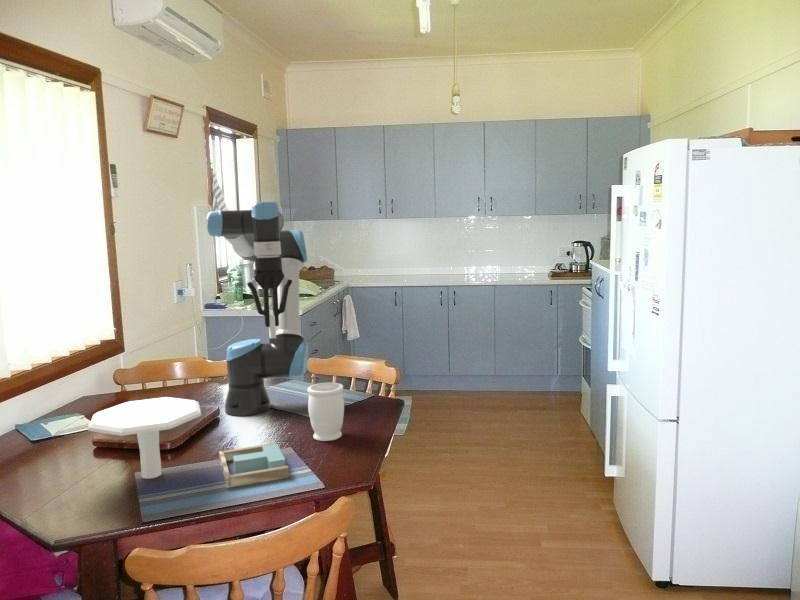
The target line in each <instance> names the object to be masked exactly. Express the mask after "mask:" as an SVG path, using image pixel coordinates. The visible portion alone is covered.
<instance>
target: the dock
mask: <svg viewBox="0 0 800 600" xmlns="http://www.w3.org/2000/svg"><path fill="white" fill-rule="evenodd" d="M273 444H277V442H272V443H265V444H260V445H253V446H246V447H240V448H239V447H238V448H233V449H227V450H220V451H218V452H219V463H220V465H221V470H222V475H223V478H224V482H225V486H226V488H227V489H231V488H234V487H235V488H236V487H240V486H241V487H243V486H246V485H252V484H253V485H254V484H258V483H264V482H269V481H270V482H271V481H276V480H282V479H288V478H290V468H289V466H288V465H286V466H282V467H276V468H270V469H264V470H258V471H252V472H246V473H240V474H235V473H234V474H231V473H230V470H229V467H228V464H227V462H231V461H233V456H237V455H243V454H250V453H256V452H262V446H267V445H273Z"/></svg>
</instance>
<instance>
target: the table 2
mask: <svg viewBox="0 0 800 600" xmlns="http://www.w3.org/2000/svg"><path fill="white" fill-rule="evenodd" d="M201 416H202V410H201V406H200V403H199V401H197V400H195V399H186V398H179V397H170V396H163V397H156V398H155V397H153V398H148V399H147V398H145V399H140V400H138V399H137V400H129V401H125V402H122V403H119V404H116V405H114V406H111V407H108V408H105V409H103V410H99V411H97V412H95V413H94V414H93V415H92V417H91V420H90V423H89V426H88V429H87V431H88V432H94V433H101V434H105V435H106V434H107V435H112V436H113V435H114V436H121V437H122V436H123V437H124V436H128V435H137V443H138V448H139V457H140V471H141V473H140V474H141V478H142V479H146V480H148V479H155V478H158V477H159V476H161V475H162V474H163V473H162V460H161V450H160V431H165V430H171V429H174V428H176V427H178V426H181V425H183V424H185V423H187V422H190V421H193V420H194V419H197V418H199V417H201Z"/></svg>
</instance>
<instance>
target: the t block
mask: <svg viewBox="0 0 800 600" xmlns="http://www.w3.org/2000/svg"><path fill="white" fill-rule="evenodd" d="M232 463H233V471H234V474H240V473H246V472H252V471H258V470H264V469H270V468H276V467H282V466H287V465H286V458H285V456H284V453H282V451H281V449H280V447H279V445H278V444H277V443H276V444H273V445H267V446H262V452H256V453H250V454H243V455H237V456H233V462H232Z"/></svg>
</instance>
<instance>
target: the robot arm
mask: <svg viewBox="0 0 800 600" xmlns="http://www.w3.org/2000/svg"><path fill="white" fill-rule="evenodd" d="M284 225H285V219H284V216H283V214H282V213H281V212H280V210H279V203H278V202H276V201H257V202H256V201H255V202H253V203H252V204H251V209H243V210H240V209H239V210H238V209H237V210H221V209H219V210H213V211H209V212H208V213H207V215H206V229H207V232H208V236H211V237H218V238H220V237H223V238H224V239H225V240H227V241H228V243H229V244H231V246H232V248H233V251H234V252H235V254H237V255H238V256H239V257H240V258H242V259H244V260H247V261H250V262H253V263H254V269H255V272H254V273H255V274H254V275H253V278H252V279H251V280H250V281H247V282H246V285H247V287H248V288H249V289H250V291H251V295H252V299H253V301H254V304H255V307H256V310H257V313H258V314H259V315H262V316H263V317H264V325H265V327H266V328H268V335H269V338H268V339H269V341H268V343H263V341H262V340H261V339H260V338H252V339H251V338H250V339H245V340H241V341H237V342H234V343H232V344H230V345H228V347H227V349H226V359H225V361H226V365H227V366H226V368H227V370H226V371H227V381H228V389H227V390H228V391H227V394H226V399H225V401H224V412H225V414H227V415H231V416H235V417H239V416H241V417H242V416H243V417H244V416H245V417H246V416H254V415H258V414H262V413H265V412H267V411H269V410H270V409H271V408H272V404H271V399H270V396H269V394H268V392H267V389H266V387H265V379H275V378H276V379H278V378H279V379H281V378H282V379H283V378H290V379H292V378H296V377H302V376H304V375H305V373H306V371H307V367H308V359H309V343H308V342H307V341H305V338H304V336H303V335H302V334H301V333H300V270H303V268H304V263H306V262H308V254H307V248H306V243H305V242H306V241H305V237H304V233H303V232H302V231H301V230H300V229H298V230H297V229H295V230H294V229H289V230H287V229H286V230H283V228H284ZM257 284H258V285H259V287H261V288H262V298H263V299H262V300H263V308H262V304H261V301H260V298H259V294H258V291H257V288H256V287H257ZM269 290H271V300H272V302H271V303H272V313H273V314H270V313H271V312H270V301H269V298H270V297H269V296H270V295H269V292H270V291H269Z"/></svg>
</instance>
